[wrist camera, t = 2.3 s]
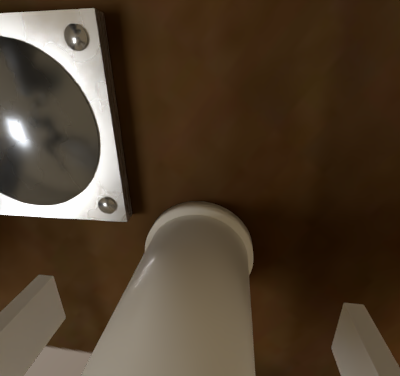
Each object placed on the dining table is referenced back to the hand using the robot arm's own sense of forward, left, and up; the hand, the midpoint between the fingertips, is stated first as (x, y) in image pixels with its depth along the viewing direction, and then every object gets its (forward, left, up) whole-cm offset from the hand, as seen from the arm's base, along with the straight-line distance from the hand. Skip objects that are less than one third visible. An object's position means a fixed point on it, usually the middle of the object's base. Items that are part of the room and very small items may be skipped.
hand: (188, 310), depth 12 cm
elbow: (+1, 0, -4) cm, 4 cm away
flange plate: (-7, -9, -4) cm, 12 cm away
